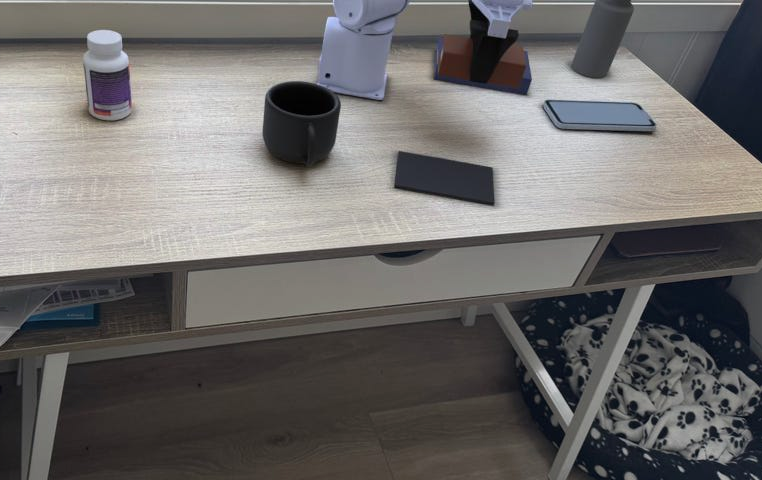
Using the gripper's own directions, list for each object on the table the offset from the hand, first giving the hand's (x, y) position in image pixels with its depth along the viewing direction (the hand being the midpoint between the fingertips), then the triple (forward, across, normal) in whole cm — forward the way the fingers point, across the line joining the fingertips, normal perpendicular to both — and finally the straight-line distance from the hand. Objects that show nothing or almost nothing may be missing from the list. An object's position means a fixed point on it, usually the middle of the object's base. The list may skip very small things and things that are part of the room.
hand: (477, 70), depth 92 cm
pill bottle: (+10, -8, +45) cm, 47 cm away
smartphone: (+10, +12, -20) cm, 26 cm away
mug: (+10, -12, +20) cm, 25 cm away
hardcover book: (+9, +21, -4) cm, 23 cm away
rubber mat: (+9, -11, +2) cm, 14 cm away
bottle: (+10, +29, -22) cm, 37 cm away
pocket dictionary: (0, 0, 0) cm, 0 cm away
